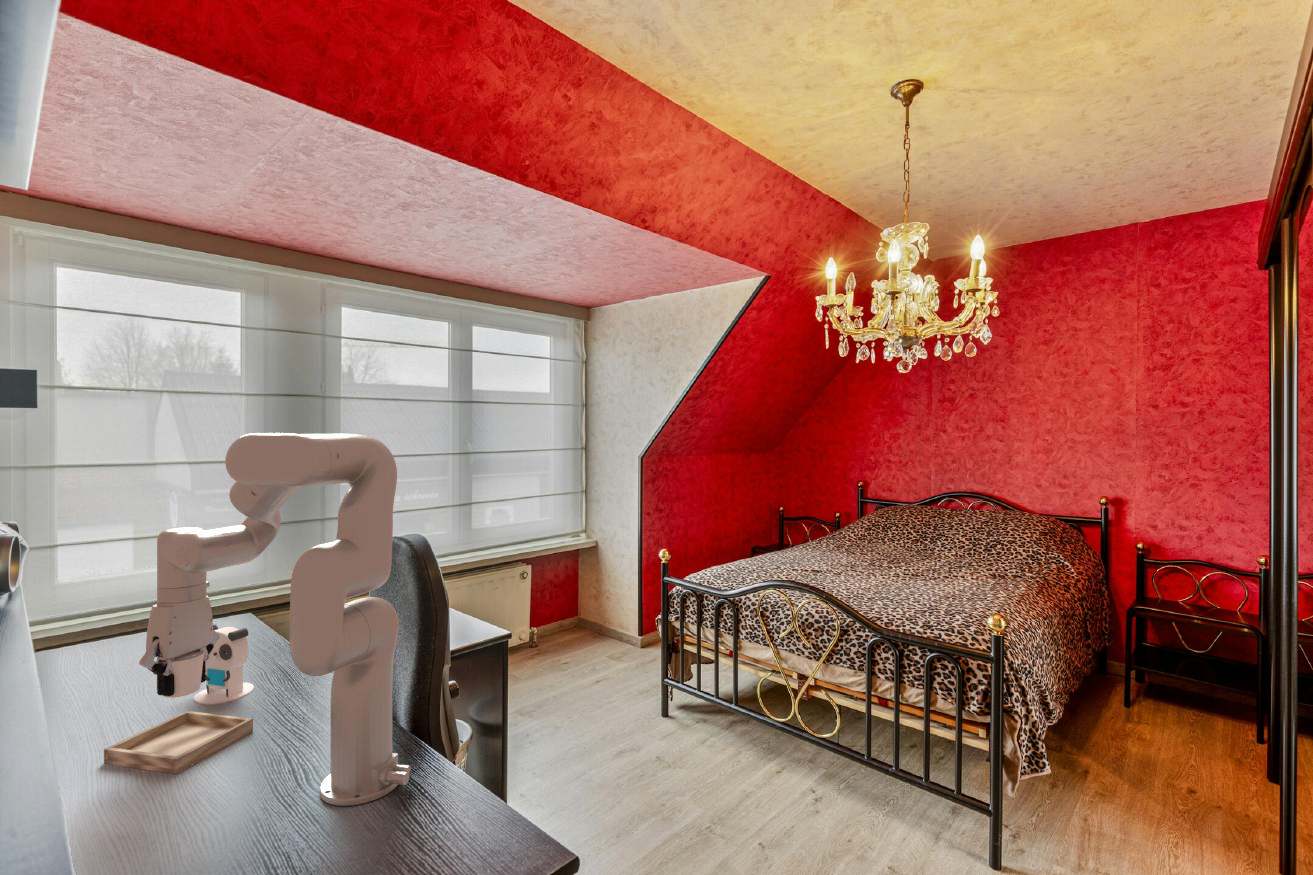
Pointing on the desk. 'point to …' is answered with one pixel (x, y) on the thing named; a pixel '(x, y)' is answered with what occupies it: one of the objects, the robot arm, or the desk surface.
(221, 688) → the panda figurine
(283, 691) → the desk surface
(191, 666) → the white cup
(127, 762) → the tray
